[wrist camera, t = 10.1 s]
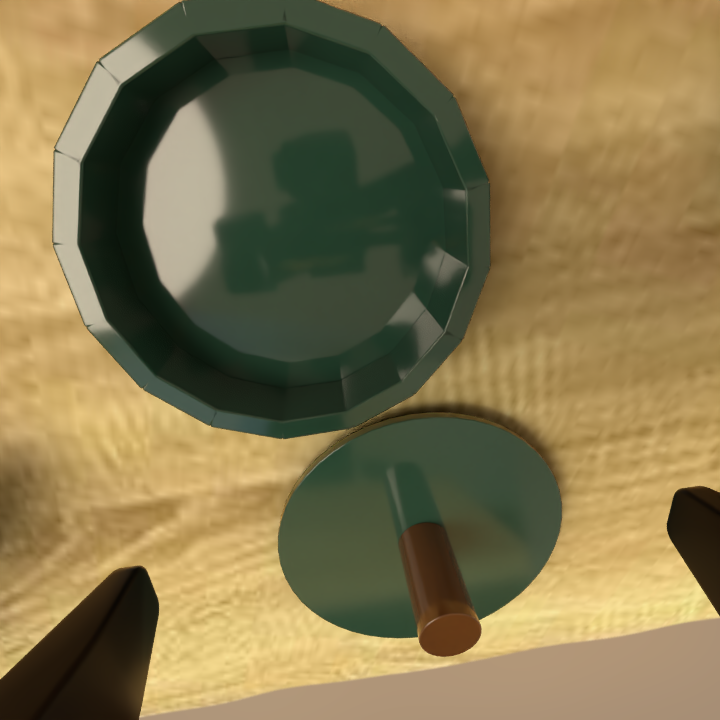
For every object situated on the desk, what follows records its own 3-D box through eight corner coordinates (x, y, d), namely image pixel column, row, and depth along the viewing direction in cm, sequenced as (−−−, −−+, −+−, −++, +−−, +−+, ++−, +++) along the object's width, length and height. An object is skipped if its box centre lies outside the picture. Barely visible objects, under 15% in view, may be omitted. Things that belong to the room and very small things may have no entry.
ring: (453, 3, 15) (489, -39, 12) (465, 371, 20) (491, 406, 17) (37, 55, 14) (-37, 25, 11) (165, 417, 20) (138, 463, 17)
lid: (559, 383, 21) (648, 461, 15) (545, 597, 27) (606, 709, 21) (251, 432, 20) (227, 531, 15) (306, 639, 26) (303, 765, 21)
